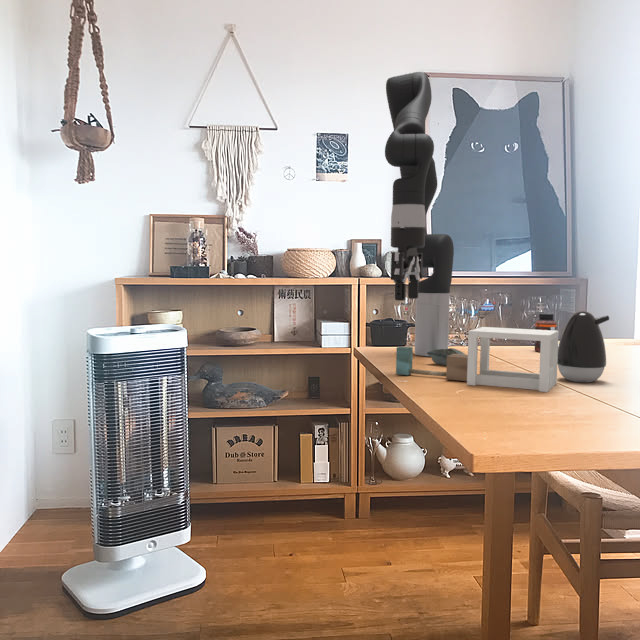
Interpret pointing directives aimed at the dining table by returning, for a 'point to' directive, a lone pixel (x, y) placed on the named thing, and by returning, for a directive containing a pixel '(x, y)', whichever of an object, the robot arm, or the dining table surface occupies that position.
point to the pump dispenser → (582, 348)
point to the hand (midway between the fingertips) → (406, 299)
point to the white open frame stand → (507, 378)
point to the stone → (442, 355)
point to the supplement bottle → (544, 326)
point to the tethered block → (453, 372)
